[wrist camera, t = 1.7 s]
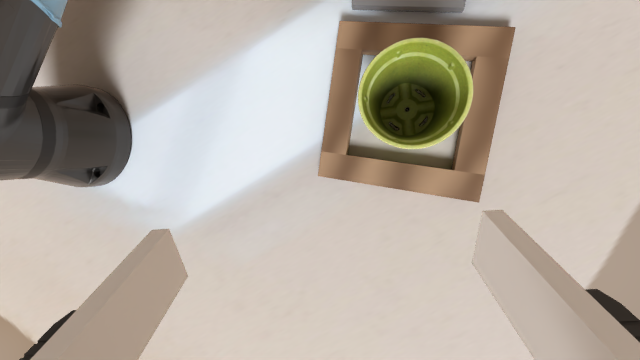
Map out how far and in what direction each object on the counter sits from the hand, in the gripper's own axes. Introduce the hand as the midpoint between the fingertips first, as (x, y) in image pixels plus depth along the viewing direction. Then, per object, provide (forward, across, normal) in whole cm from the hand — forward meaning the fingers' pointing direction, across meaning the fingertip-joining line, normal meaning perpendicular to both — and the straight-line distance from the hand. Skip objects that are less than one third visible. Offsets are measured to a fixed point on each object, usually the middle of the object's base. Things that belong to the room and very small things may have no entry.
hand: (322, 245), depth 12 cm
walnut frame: (+23, +9, 0) cm, 25 cm away
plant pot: (+23, +9, 0) cm, 25 cm away
